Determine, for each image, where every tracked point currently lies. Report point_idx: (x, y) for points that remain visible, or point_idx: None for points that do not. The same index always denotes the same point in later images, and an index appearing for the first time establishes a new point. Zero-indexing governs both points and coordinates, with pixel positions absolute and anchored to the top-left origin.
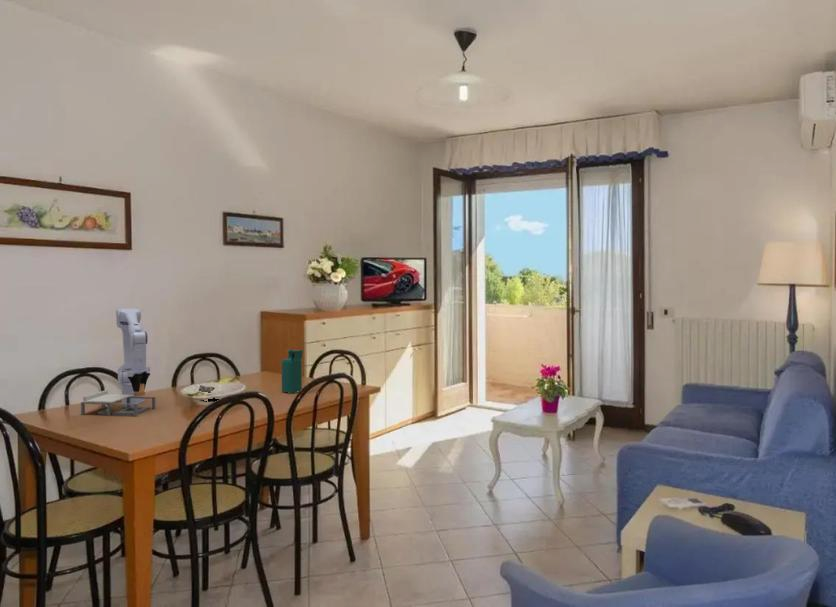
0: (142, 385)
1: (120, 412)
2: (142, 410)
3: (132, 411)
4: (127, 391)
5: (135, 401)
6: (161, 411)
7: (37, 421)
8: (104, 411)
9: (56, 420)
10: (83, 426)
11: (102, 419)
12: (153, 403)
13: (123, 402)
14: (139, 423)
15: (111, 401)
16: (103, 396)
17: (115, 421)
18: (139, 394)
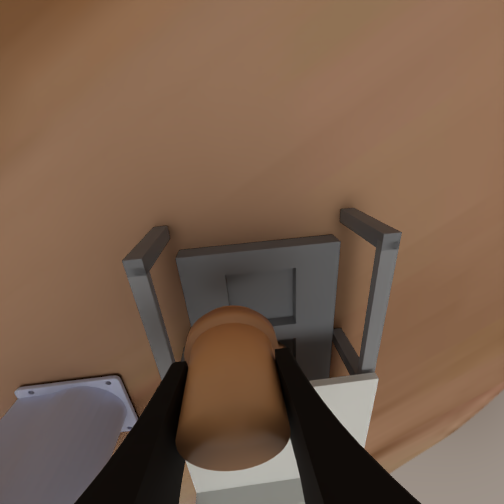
0: (248, 389)
1: (331, 308)
2: (251, 248)
3: (303, 271)
4: (92, 473)
5: (88, 394)
6: (178, 162)
7: (407, 449)
8: (317, 374)
9: (398, 424)
10: (501, 310)
11: (388, 322)
12: (156, 245)
13: (124, 420)
14: (495, 95)
15: (376, 383)
16: (255, 474)
17: (429, 252)
18: (268, 325)
